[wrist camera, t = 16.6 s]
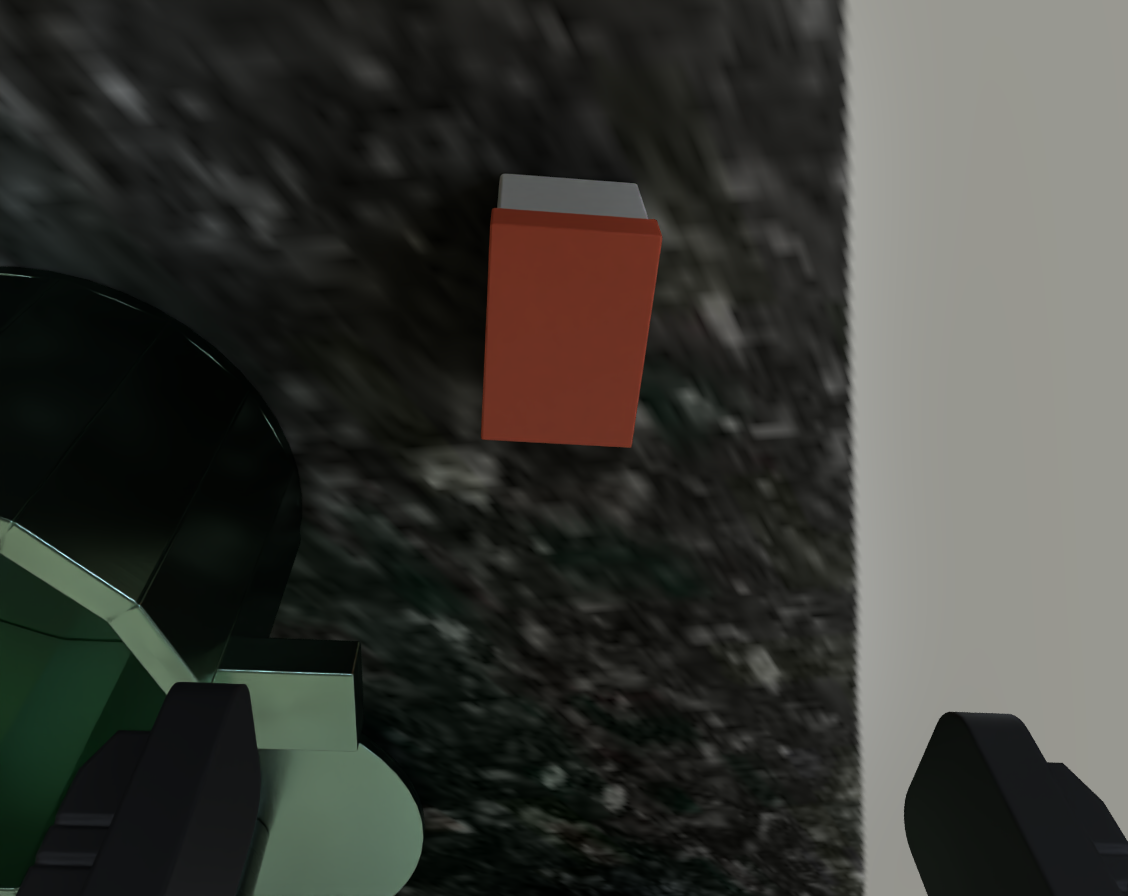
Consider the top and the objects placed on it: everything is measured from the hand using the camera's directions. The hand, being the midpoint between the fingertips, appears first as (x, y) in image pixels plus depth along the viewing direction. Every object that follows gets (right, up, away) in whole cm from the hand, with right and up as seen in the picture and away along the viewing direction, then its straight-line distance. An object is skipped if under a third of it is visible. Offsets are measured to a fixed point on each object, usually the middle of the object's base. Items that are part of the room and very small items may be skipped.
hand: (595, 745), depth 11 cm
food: (0, +8, +12) cm, 14 cm away
